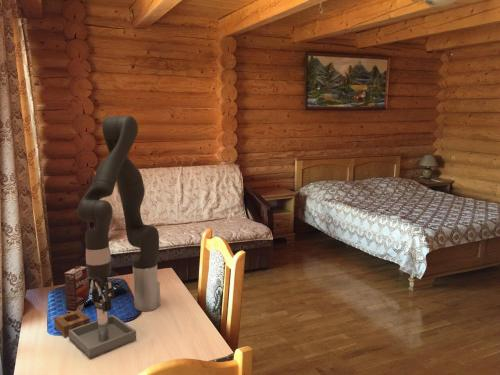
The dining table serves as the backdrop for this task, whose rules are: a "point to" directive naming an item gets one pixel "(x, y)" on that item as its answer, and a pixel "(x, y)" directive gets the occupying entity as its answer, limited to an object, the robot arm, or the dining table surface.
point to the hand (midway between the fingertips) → (101, 306)
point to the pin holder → (70, 321)
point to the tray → (89, 341)
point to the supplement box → (76, 288)
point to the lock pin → (102, 321)
